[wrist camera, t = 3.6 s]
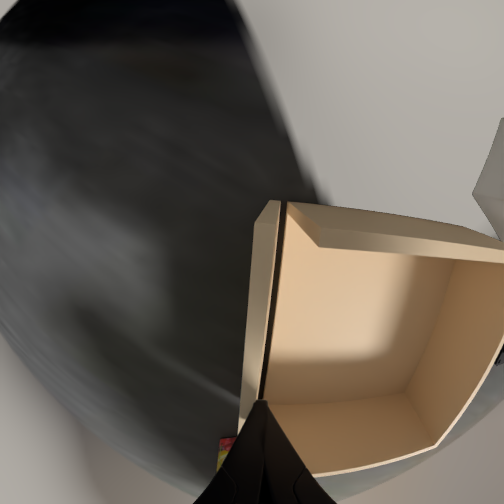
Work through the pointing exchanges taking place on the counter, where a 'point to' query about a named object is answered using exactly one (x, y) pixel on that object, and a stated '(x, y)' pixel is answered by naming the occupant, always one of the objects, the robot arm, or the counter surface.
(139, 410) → the counter surface
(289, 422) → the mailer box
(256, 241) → the front flap
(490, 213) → the milk carton
